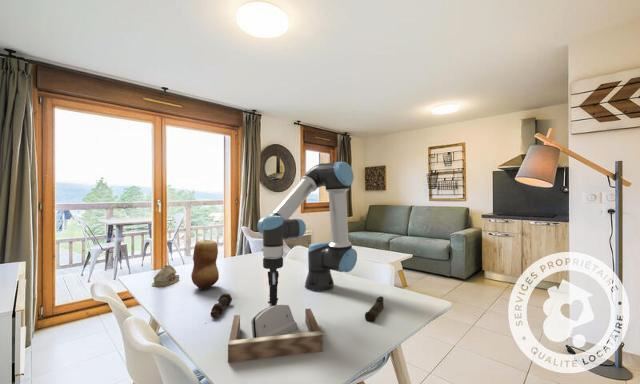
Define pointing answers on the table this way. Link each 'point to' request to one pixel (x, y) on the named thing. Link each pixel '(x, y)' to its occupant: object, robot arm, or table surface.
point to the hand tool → (374, 310)
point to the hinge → (273, 322)
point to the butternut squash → (205, 264)
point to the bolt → (221, 305)
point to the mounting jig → (275, 342)
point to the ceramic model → (166, 276)
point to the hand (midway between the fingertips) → (273, 319)
